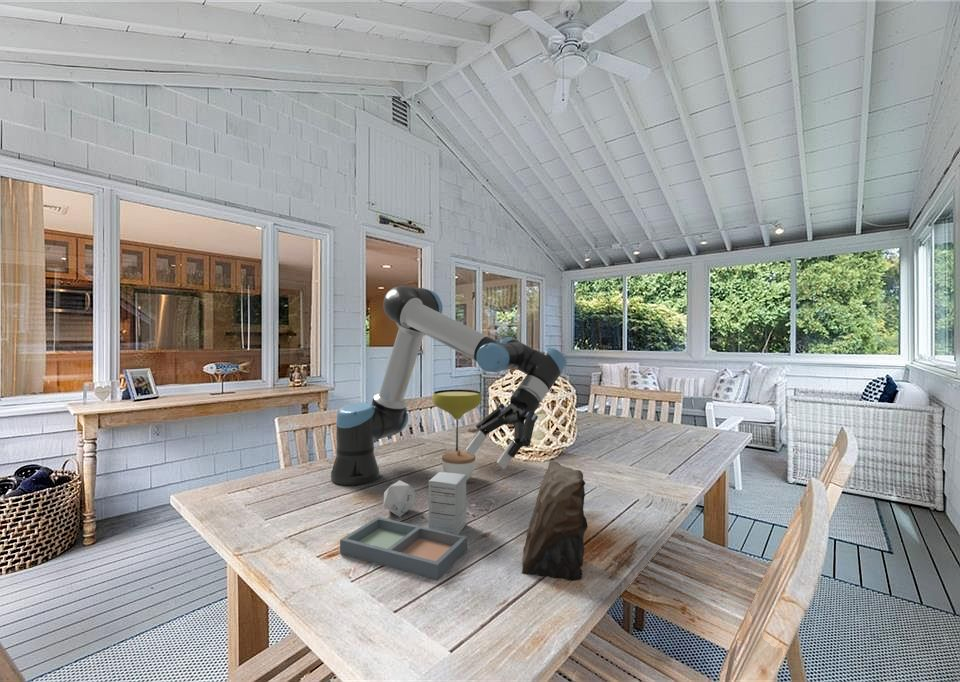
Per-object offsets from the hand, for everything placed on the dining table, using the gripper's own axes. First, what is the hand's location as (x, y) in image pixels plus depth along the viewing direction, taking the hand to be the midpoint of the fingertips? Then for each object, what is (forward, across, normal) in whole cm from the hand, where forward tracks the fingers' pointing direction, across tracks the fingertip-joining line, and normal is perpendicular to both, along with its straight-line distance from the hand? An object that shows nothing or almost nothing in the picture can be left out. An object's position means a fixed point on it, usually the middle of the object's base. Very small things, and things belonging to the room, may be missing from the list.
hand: (483, 459), depth 114 cm
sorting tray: (+28, -4, +6) cm, 29 cm away
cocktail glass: (-5, +48, -27) cm, 55 cm away
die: (+22, +15, 0) cm, 27 cm away
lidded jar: (+3, +29, -19) cm, 34 cm away
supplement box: (+18, 0, -3) cm, 19 cm away
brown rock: (+13, -26, -9) cm, 31 cm away
